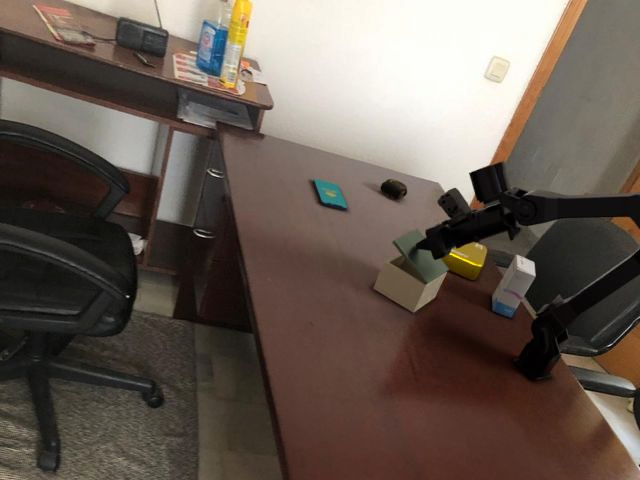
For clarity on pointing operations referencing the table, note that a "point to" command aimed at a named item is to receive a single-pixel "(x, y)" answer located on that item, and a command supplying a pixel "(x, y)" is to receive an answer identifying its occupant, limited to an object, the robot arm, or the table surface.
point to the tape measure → (394, 188)
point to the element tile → (466, 260)
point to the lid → (420, 257)
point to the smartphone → (329, 194)
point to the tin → (405, 284)
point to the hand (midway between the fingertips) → (416, 246)
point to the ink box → (513, 286)
